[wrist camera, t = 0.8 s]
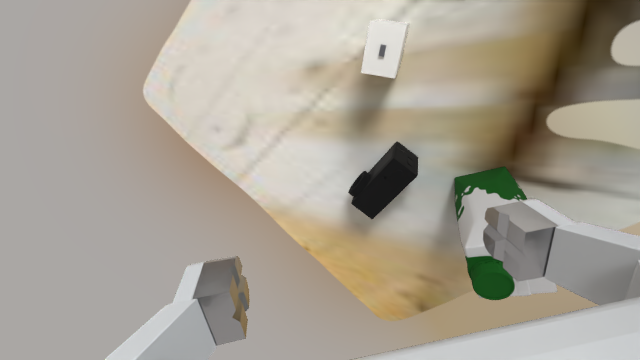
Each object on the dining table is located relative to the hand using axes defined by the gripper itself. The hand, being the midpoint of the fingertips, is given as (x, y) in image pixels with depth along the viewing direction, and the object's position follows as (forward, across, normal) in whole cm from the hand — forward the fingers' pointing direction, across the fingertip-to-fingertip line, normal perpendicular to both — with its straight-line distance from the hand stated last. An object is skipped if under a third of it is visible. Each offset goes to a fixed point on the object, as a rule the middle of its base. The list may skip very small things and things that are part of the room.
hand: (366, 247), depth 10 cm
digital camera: (+39, -12, +15) cm, 44 cm away
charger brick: (+38, -14, -4) cm, 40 cm away
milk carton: (+33, -26, +19) cm, 46 cm away
